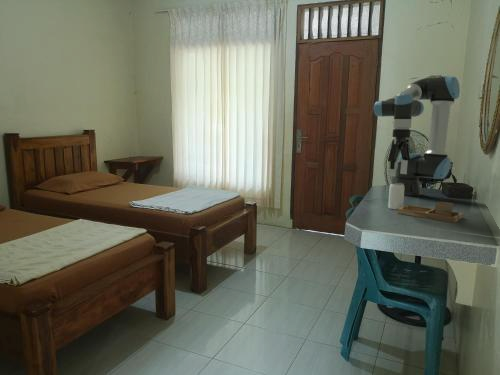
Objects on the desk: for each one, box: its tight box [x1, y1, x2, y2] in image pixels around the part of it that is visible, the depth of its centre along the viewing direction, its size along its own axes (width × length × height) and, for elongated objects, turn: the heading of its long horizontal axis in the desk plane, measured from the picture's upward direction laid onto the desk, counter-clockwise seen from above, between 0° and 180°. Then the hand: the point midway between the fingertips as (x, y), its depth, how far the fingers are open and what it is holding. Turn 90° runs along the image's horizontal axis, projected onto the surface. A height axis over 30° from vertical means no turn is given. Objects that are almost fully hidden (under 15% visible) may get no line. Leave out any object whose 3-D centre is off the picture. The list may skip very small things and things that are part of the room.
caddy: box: [397, 204, 464, 224], centre depth 166 cm, size 12×23×3 cm, turn 48°
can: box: [387, 182, 405, 211], centre depth 181 cm, size 6×6×12 cm
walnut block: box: [434, 201, 454, 217], centre depth 162 cm, size 6×6×6 cm
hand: (397, 175), depth 179 cm, fingers open, 13 cm apart
